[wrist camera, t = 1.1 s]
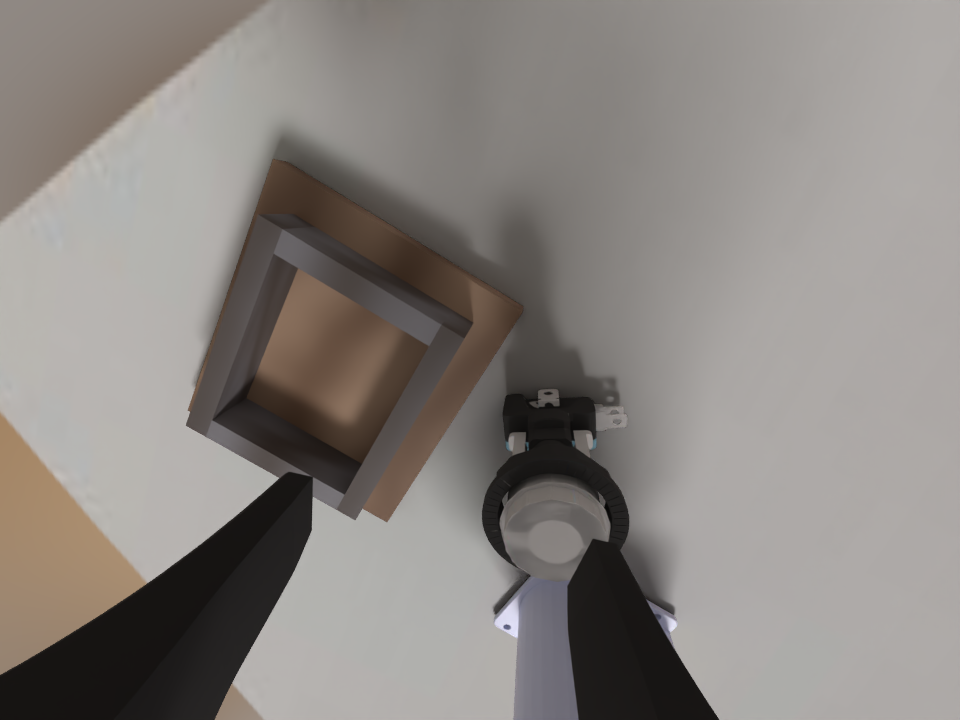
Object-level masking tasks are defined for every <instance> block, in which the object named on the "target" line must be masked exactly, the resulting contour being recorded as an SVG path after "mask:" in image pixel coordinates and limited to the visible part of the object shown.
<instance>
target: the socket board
mask: <svg viewBox="0 0 960 720" xmlns="http://www.w3.org/2000/svg"><path fill="white" fill-rule="evenodd" d="M522 312H523V306H522V305H520V304H518V303H517V302H515V301H513V300H512V299H510V298H509V297H507V296H505V295H504V294H502V293H500V292H499V291H497V290H495V289H494V288H492V287H491V286H489V285H487V284H486V283H484V282H482V281H481V280H479V279H478V278H476V277H474V276H473V275H471V274H469V273H468V272H466V271H464V270H463V269H461V268H460V267H458V266H456V265H455V264H453V263H451V262H450V261H448V260H447V259H445V258H443V257H442V256H440V255H438V254H437V253H435V252H433V251H432V250H430V249H429V248H427V247H425V246H424V245H422V244H420V243H419V242H417V241H415V240H414V239H412V238H411V237H409V236H407V235H406V234H404V233H402V232H401V231H399V230H398V229H396V228H394V227H393V226H391V225H389V224H388V223H386V222H384V221H383V220H381V219H380V218H378V217H376V216H375V215H373V214H371V213H370V212H368V211H367V210H365V209H363V208H362V207H360V206H358V205H357V204H355V203H353V202H352V201H350V200H349V199H347V198H345V197H344V196H342V195H340V194H339V193H337V192H336V191H334V190H332V189H331V188H329V187H327V186H326V185H324V184H322V183H321V182H319V181H318V180H316V179H314V178H313V177H311V176H309V175H308V174H306V173H305V172H303V171H301V170H300V169H298V168H296V167H295V166H293V165H291V164H290V163H288V162H286V161H280V160H275V159H273V160H272V163H271V166H270V169H269V172H268V175H267V178H266V181H265V184H264V187H263V190H262V193H261V196H260V199H259V202H258V205H257V208H256V211H255V214H254V216H253V219H252V222H251V225H250V228H249V231H248V234H247V237H246V240H245V243H244V246H243V249H242V252H241V255H240V258H239V261H238V264H237V267H236V270H235V273H234V276H233V279H232V281H231V284H230V287H229V290H228V293H227V296H226V299H225V302H224V305H223V308H222V311H221V314H220V317H219V320H218V323H217V326H216V329H215V332H214V335H213V338H212V341H211V343H210V346H209V349H208V352H207V355H206V358H205V361H204V364H203V367H202V370H201V373H200V376H199V379H198V382H197V385H196V388H195V391H194V394H193V397H192V400H191V403H190V406H189V408H188V411H190V415H189V418H188V420H187V423H186V426H188V427H189V428H191V429H193V430H195V431H197V432H198V433H200V434H202V435H204V436H206V437H207V438H209V439H211V440H213V441H214V442H216V443H218V444H220V445H222V446H223V447H225V448H227V449H229V450H231V451H232V452H234V453H236V454H238V455H239V456H241V457H243V458H245V459H247V460H248V461H250V462H252V463H254V464H256V465H257V466H259V467H261V468H263V469H265V470H266V471H268V472H270V473H272V474H273V475H275V476H277V477H279V478H280V477H282V476H283V475H284V474H285V473H287V472H293V473H298V474H302V475H307V476H311V477H313V497H315V498H316V499H318V500H320V501H322V502H324V503H325V504H327V505H329V506H331V507H333V508H334V509H336V510H338V511H340V512H341V513H343V514H345V515H347V516H349V517H350V518H352V519H354V520H356V518H357V517H358V515H359V513H360V512H361V510H362V508H363V509H364V510H366V511H368V512H370V513H371V514H373V515H375V516H377V517H379V518H380V519H382V520H384V521H386V522H388V520H389V519H390V517H391V515H392V514H393V512H394V511H395V509H396V508H397V506H398V505H399V503H400V501H401V500H402V498H403V497H404V495H405V494H406V492H407V491H408V489H409V487H410V486H411V484H412V483H413V481H414V480H415V478H416V477H417V475H418V474H419V472H420V470H421V469H422V467H423V466H424V464H425V463H426V461H427V460H428V458H429V456H430V455H431V453H432V452H433V450H434V449H435V447H436V446H437V444H438V442H439V441H440V439H441V438H442V436H443V435H444V433H445V432H446V430H447V428H448V427H449V425H450V424H451V422H452V421H453V419H454V418H455V416H456V414H457V413H458V411H459V410H460V408H461V407H462V405H463V404H464V402H465V401H466V399H467V397H468V396H469V394H470V393H471V391H472V390H473V388H474V387H475V385H476V383H477V382H478V380H479V379H480V377H481V376H482V374H483V373H484V371H485V369H486V368H487V366H488V365H489V363H490V362H491V360H492V359H493V357H494V355H495V354H496V352H497V351H498V349H499V348H500V346H501V345H502V343H503V341H504V340H505V338H506V337H507V335H508V334H509V332H510V331H511V329H512V328H513V326H514V324H515V323H516V321H517V320H518V318H519V317H520V315H521V314H522Z"/></svg>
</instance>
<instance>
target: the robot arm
mask: <svg viewBox="0 0 960 720" xmlns="http://www.w3.org/2000/svg"><path fill="white" fill-rule="evenodd" d="M312 497H313V477H311V476H307V475H302V474H298V473H293V472H287V473H285V474H284V475H283V476H282V477H280V478H279V479H278V480H277V481H276V482H275V483H274V484H273V485H272V486H270V487H269V488H268V489H267V490H266V491H265V492H264V493H262V494H261V495H260V496H259V497H258V498H257V499H256V500H254V501H253V502H252V503H251V504H250V505H249V506H247V507H246V508H245V509H244V510H243V511H241V512H240V513H239V514H238V515H237V516H235V517H234V518H233V519H232V520H231V521H229V522H228V523H227V524H226V525H224V526H223V527H222V528H221V529H219V530H218V531H217V532H216V533H214V534H213V535H212V536H211V537H209V538H208V539H207V540H206V541H204V542H203V543H202V544H201V545H199V546H198V547H197V548H195V549H194V550H193V551H191V552H190V553H189V554H187V555H186V556H185V557H183V558H182V559H180V560H179V561H178V562H176V563H175V564H174V565H172V566H171V567H170V568H168V569H167V570H166V571H164V572H163V573H162V574H160V575H159V576H157V577H156V578H155V579H153V580H152V581H150V582H149V583H147V584H146V585H145V586H143V587H142V588H140V589H139V590H137V591H136V592H135V593H133V594H132V595H130V596H129V597H127V598H126V599H124V600H123V601H121V602H120V603H118V604H117V605H115V606H114V607H112V608H110V609H109V610H107V611H106V612H104V613H103V614H101V615H100V616H98V617H97V618H95V619H93V620H92V621H90V622H89V623H87V624H86V625H84V626H82V627H81V628H79V629H77V630H76V631H74V632H73V633H71V634H69V635H68V636H66V637H64V638H63V639H61V640H60V641H58V642H56V643H55V644H53V645H51V646H50V647H48V648H46V649H45V650H43V651H41V652H40V653H38V654H36V655H35V656H33V657H31V658H30V659H28V660H26V661H24V662H23V663H21V664H19V665H17V666H16V667H14V668H12V669H10V670H8V671H7V672H5V673H3V674H1V675H0V720H215V717H216V715H217V713H218V711H219V709H220V707H221V705H222V702H223V700H224V698H225V696H226V694H227V692H228V690H229V688H230V686H231V684H232V682H233V680H234V678H235V676H236V674H237V673H238V671H239V669H240V667H241V665H242V663H243V662H244V660H245V658H246V656H247V654H248V653H249V651H250V649H251V647H252V646H253V644H254V642H255V640H256V638H257V637H258V635H259V633H260V631H261V630H262V628H263V626H264V624H265V622H266V621H267V619H268V617H269V615H270V614H271V612H272V610H273V608H274V607H275V605H276V603H277V601H278V599H279V598H280V596H281V594H282V592H283V590H284V589H285V587H286V585H287V583H288V581H289V580H290V578H291V576H292V574H293V572H294V570H295V568H296V566H297V563H298V561H299V559H300V557H301V554H302V552H303V550H304V547H305V545H306V543H307V540H308V538H309V535H310V533H311V531H312ZM494 624H495V626H497V627H498V628H500V629H501V630H503V631H505V632H507V633H509V634H511V635H512V636H514V637H516V638H518V639H517V659H516V679H515V698H514V718H513V720H719V719H718V717H717V716H716V714H715V713H714V711H713V710H712V708H711V707H710V705H709V704H708V702H707V700H706V699H705V697H704V696H703V694H702V693H701V691H700V690H699V688H698V687H697V685H696V683H695V682H694V680H693V679H692V677H691V675H690V674H689V672H688V671H687V669H686V667H685V666H684V664H683V663H682V661H681V659H680V658H679V656H678V654H677V653H676V651H675V649H674V645H673V642H672V639H671V636H670V632H671V631H672V630H673V629H675V628H676V627H677V625H678V623H677V620H676V617H675V616H674V615H672V614H671V613H669V612H667V611H665V610H664V609H662V608H660V607H658V606H657V605H655V604H653V603H651V602H650V601H648V600H646V598H645V596H644V595H643V593H642V591H641V589H640V587H639V585H638V584H637V582H636V580H635V578H634V576H633V574H632V572H631V570H630V568H629V567H628V565H627V563H626V561H625V559H624V557H623V555H622V553H621V552H620V550H619V548H618V546H617V545H616V544H615V543H611V542H606V541H602V540H597V539H592V541H591V543H590V545H589V547H588V548H587V550H586V552H585V554H584V556H583V558H582V560H581V561H580V563H579V565H578V567H577V569H576V571H575V573H574V574H573V576H572V578H571V580H567V581H560V582H555V581H550V580H545V579H540V578H535V577H533V576H530V577H529V578H528V580H527V581H526V582H525V583H524V584H523V585H522V586H521V587H520V588H519V590H518V591H517V592H516V593H515V594H514V595H513V596H512V597H511V599H510V600H509V601H508V602H507V603H506V604H505V605H504V606H503V608H502V609H501V610H500V611H499V612H498V613H497V614H496V615H495V617H494ZM507 624H508V625H507Z"/></svg>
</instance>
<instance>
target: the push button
mask: <svg viewBox="0 0 960 720" xmlns="http://www.w3.org/2000/svg"><path fill="white" fill-rule="evenodd" d="M545 393H553V394H551V395H545ZM612 410H617V411H618V414H610V413H611V411H612ZM613 420H621V422H620V423H619V424H615V423H614V422H613ZM503 422H504V432H505V441H506V449H507V450H509V451H512V452H513V454H512V456H511V457H510V458H509V459H508V460H507V461H506V463H505V464H504V465H503V466H502V467H501V468H500V469H499V470H498V472H497V476H496V478H495V479H494V480H493V482H492V483H491V484H490V486H489V488H488V490H487V493H486V495H485V499H484V503H483V510H482V522H483V527H484V531H485V533H486V536H487V538H488V540H489V542H490V543H491V545H492V546H493V548H494V549H495V550H496V551H497V553H498V554H499V555H500V556H501V557H503V558H504V559H505V560H506V561H508V562H509V563H510V564H512V565H513V566H515V567H517V568H519V569H521V570H523V571H525V572H527V573H528V574H530V575H531V576H533V577H535V578H540V579H545V580H550V581H555V582H560V581H567V580H571V578H572V576H573V574H574V573H575V571H576V569H577V567H578V565H579V563H580V561H581V560H582V558H583V556H584V554H585V552H586V550H587V548H588V547H589V545H590V543H591V541H592V539H597V540H602V541H606V542H611V543H615V544H616V545H617V546H618V548H619V550H620V549H621V548H622V546H623V544H624V542H625V540H626V537H627V534H628V530H629V514H628V509H627V506H626V502H625V499H624V497H623V495H622V492H621V491H620V489H619V487H618V486H617V484H616V483H615V482H614V481H613V480H612V479H611V477H610V475H609V473H608V471H607V470H606V469H604V468H603V467H602V466H600V465H599V464H598V463H596V462H595V461H593V460H592V459H591V456H590V451H589V450H591V449H595V448H596V431H606V428H626V427H627V414H624V407H623V406H606V407H603V404H594V402H593V400H591V399H590V398H588V397H579V398H559V394H558V390H557V389H542V390H539V391H538V399H532V400H525V399H524V396H523V395H521V394H511V395H507V396H506V398H505V404H504V409H503ZM508 491H509V492H508ZM507 492H508V501H507V503H506V504H505V506H503V503H502V499H503V497H504V496H505V494H506V493H507ZM598 492H599V493H600V494H601V495H602V496H603V498H604V499H605V501H606V503H605V507H603V506H602V505H601V504H600V501H599V496H598Z"/></svg>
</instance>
